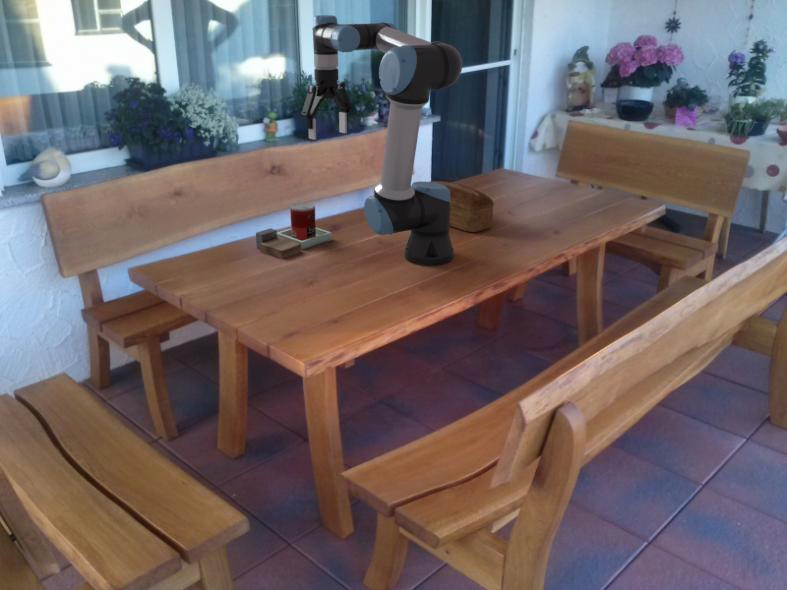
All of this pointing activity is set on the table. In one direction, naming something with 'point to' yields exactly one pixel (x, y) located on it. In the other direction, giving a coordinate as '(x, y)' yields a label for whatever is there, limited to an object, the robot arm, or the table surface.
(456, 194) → the bread
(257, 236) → the bench dog
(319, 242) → the tray
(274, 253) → the tan block
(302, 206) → the canned food
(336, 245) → the table surface
